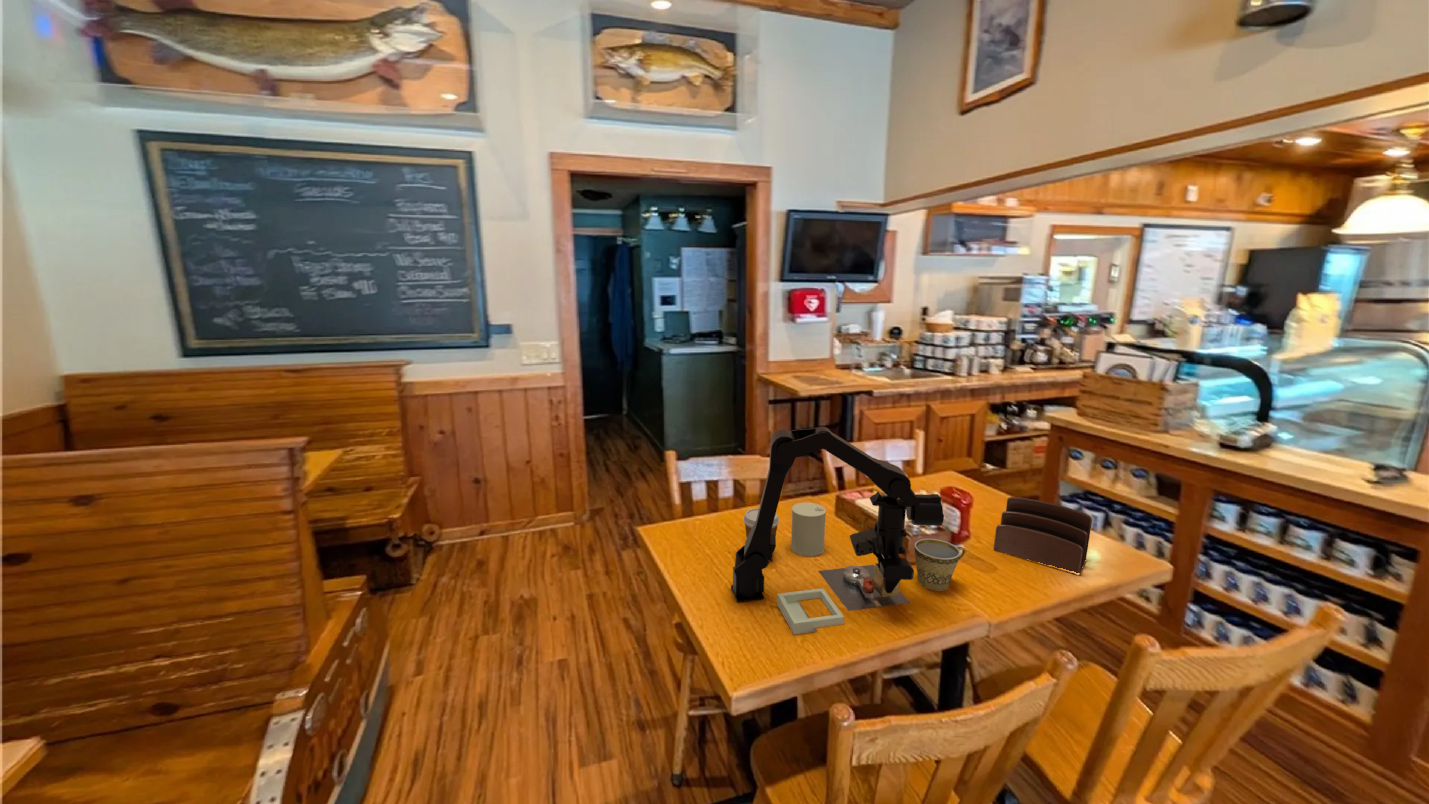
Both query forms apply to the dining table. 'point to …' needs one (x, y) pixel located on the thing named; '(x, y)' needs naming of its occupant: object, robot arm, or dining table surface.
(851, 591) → the machine bed
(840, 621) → the tray
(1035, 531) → the letter holder
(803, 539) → the can
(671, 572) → the dining table surface
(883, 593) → the block
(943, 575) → the ceramic cup
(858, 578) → the crank
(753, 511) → the disposable coffee cup
